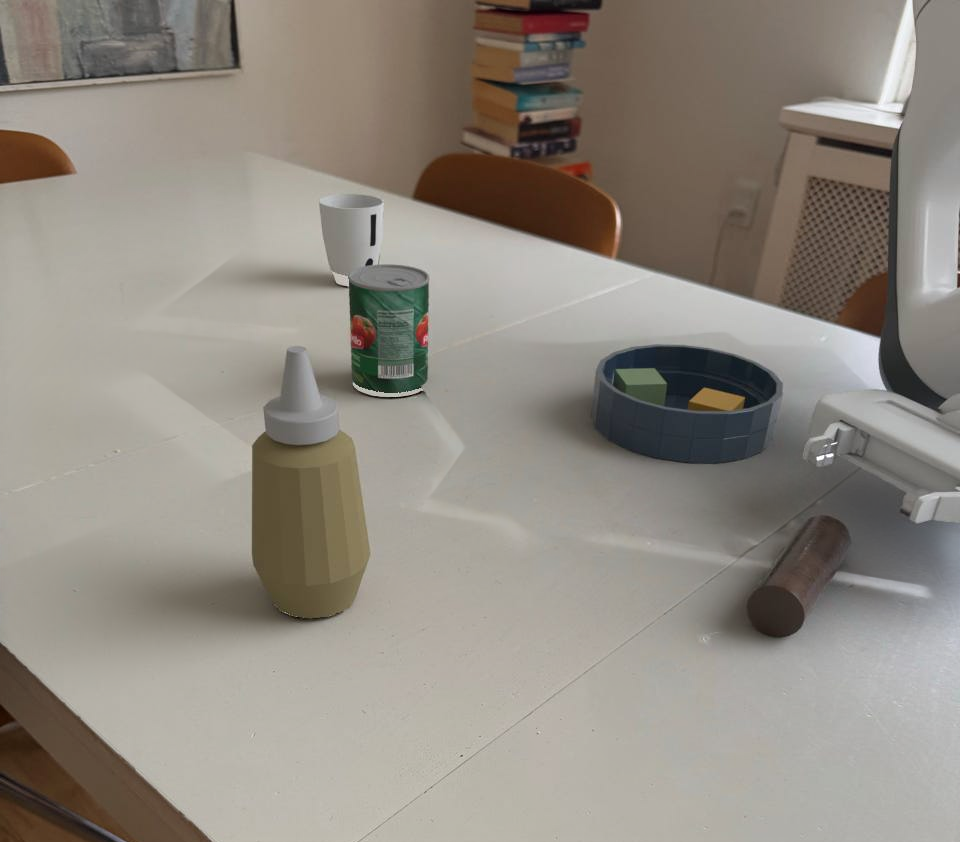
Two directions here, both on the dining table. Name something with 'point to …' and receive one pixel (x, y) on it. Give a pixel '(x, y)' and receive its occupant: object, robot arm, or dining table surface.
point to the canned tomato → (389, 327)
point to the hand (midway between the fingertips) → (857, 480)
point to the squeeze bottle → (307, 500)
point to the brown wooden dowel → (798, 577)
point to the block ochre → (715, 401)
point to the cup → (351, 230)
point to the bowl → (673, 424)
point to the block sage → (641, 384)
